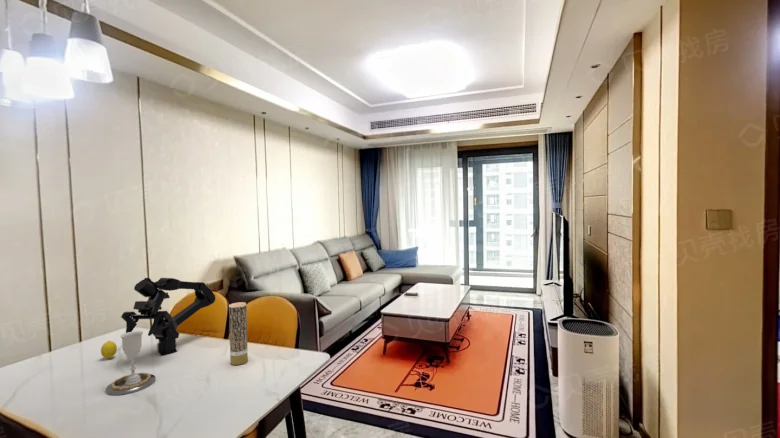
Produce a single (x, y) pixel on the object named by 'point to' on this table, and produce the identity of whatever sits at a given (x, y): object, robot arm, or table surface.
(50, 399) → the table surface
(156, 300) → the robot arm
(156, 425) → the table surface
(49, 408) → the table surface
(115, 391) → the collar
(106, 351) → the lemon
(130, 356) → the chalice
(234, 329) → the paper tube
